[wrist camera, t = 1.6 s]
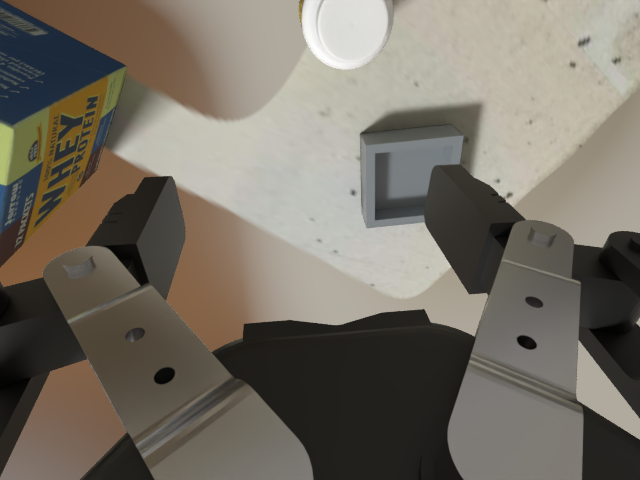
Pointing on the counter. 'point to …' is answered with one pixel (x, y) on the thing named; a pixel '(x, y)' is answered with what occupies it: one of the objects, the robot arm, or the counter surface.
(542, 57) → the counter surface
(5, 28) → the protein box
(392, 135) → the bin
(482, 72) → the counter surface
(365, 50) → the supplement bottle
